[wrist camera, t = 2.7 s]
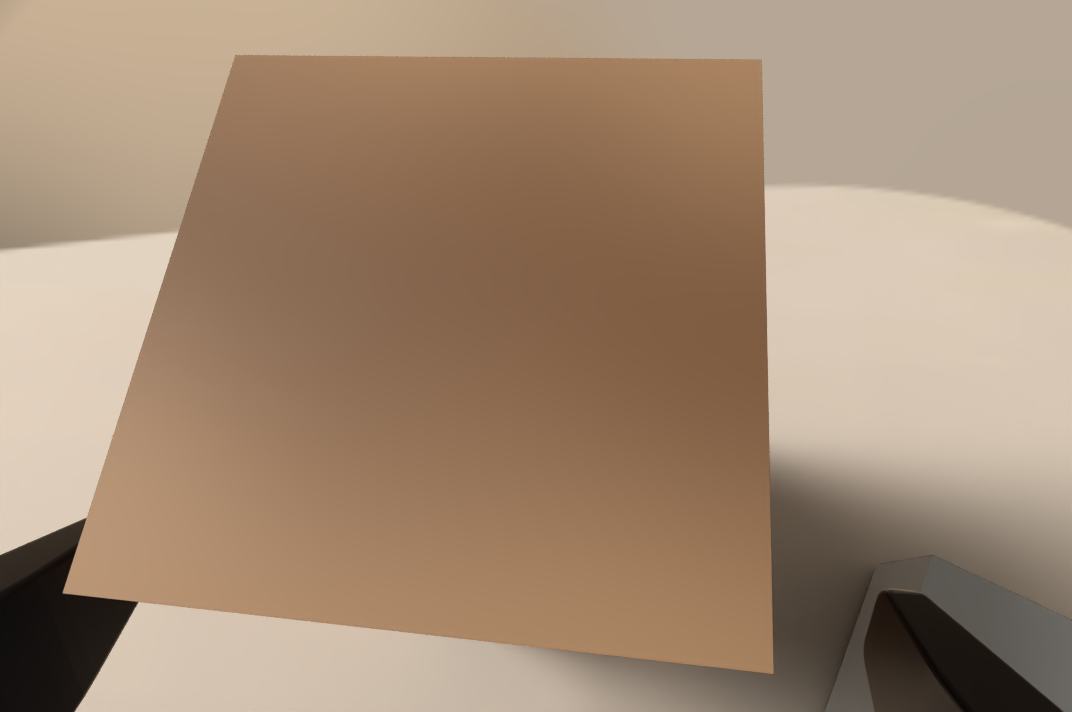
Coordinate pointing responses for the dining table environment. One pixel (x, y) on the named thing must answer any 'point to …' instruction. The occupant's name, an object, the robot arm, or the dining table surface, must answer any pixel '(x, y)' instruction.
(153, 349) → the walnut pillar
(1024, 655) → the slate plinth
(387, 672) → the dining table surface
